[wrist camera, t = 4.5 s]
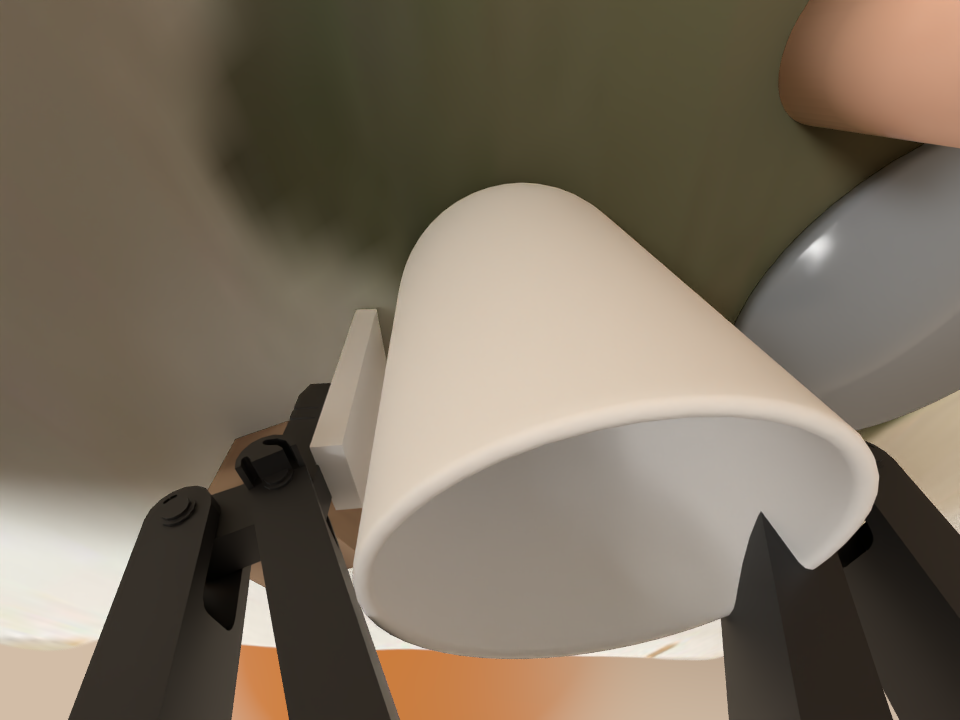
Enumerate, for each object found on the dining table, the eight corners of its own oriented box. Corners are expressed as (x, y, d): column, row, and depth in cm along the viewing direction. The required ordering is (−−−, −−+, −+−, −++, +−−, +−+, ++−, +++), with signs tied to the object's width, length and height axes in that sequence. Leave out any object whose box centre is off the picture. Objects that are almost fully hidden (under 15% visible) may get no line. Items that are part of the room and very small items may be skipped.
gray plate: (680, 434, 21) (688, 446, 20) (840, 106, 12) (863, 108, 11) (928, 416, 22) (943, 426, 21) (1252, 104, 13) (1295, 106, 12)
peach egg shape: (754, 126, 12) (915, 155, 8) (827, -64, 9) (1114, -161, 5) (872, 125, 12) (1085, 152, 8) (972, -59, 10) (1347, -149, 6)
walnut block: (301, 492, 21) (270, 590, 17) (236, 437, 18) (179, 541, 14) (382, 466, 20) (370, 562, 16) (328, 405, 17) (297, 505, 13)
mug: (492, 445, 20) (532, 706, 12) (335, 394, 17) (241, 702, 9) (664, 252, 14) (978, 505, 6) (472, 118, 11) (579, 261, 3)
